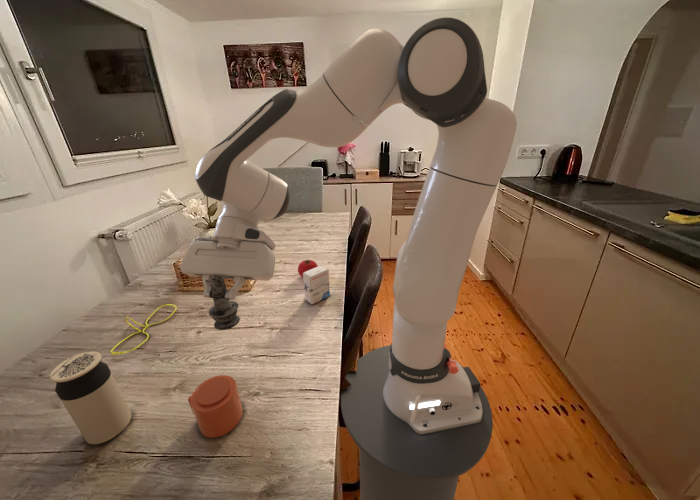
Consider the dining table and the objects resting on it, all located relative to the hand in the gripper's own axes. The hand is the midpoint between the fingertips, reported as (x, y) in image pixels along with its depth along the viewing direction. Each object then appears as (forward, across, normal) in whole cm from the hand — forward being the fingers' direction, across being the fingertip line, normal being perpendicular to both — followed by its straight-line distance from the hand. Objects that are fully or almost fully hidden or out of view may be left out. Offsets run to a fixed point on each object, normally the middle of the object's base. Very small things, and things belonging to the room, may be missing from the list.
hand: (219, 298), depth 58 cm
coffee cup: (+24, -1, +14) cm, 28 cm away
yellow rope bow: (+7, -45, +32) cm, 55 cm away
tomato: (-22, -1, +61) cm, 65 cm away
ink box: (-11, +7, +50) cm, 52 cm away
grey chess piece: (+4, 0, +5) cm, 7 cm away
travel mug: (+28, -25, +10) cm, 39 cm away
